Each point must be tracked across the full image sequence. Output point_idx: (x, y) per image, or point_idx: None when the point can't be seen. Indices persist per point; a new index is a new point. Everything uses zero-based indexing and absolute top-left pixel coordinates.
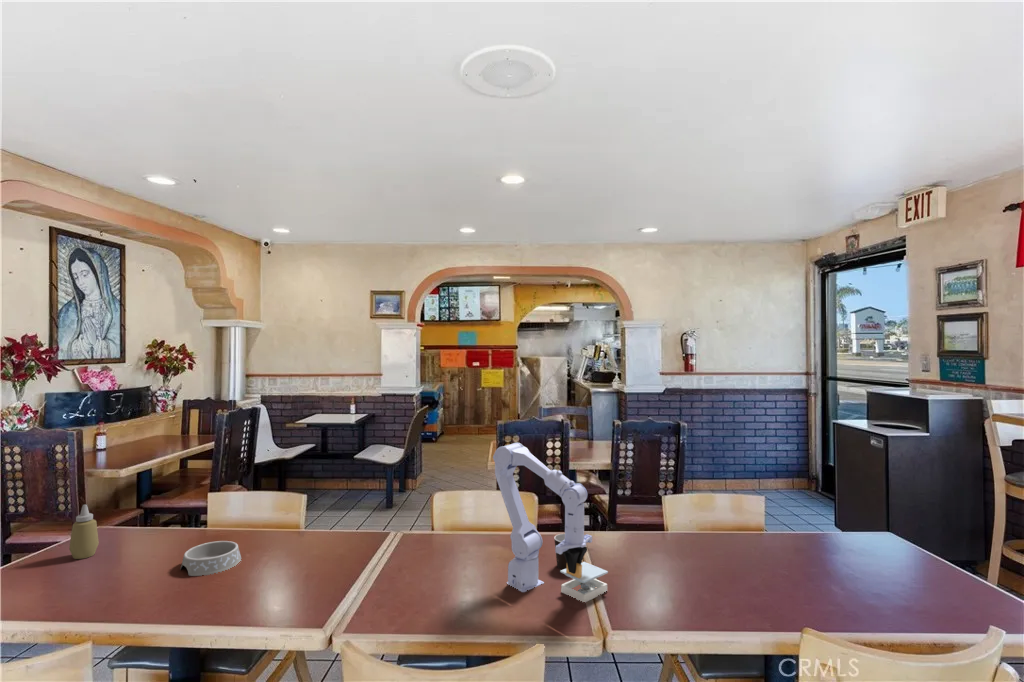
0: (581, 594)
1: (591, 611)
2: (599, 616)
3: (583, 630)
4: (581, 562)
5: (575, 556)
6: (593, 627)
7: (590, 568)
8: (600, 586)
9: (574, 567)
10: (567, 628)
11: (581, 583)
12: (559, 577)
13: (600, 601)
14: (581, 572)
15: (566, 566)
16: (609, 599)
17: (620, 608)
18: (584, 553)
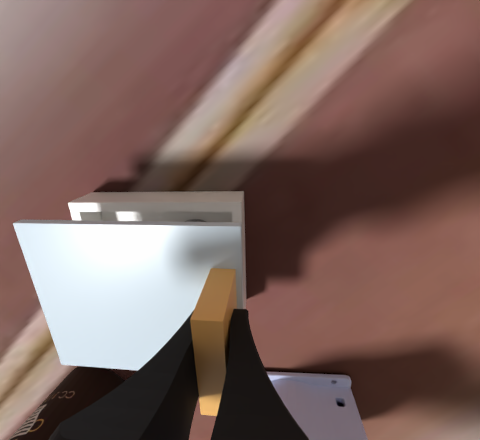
0: (241, 217)
1: (266, 129)
2: (274, 71)
3: (440, 29)
4: (166, 343)
5: (268, 420)
6: (382, 15)
7: (84, 304)
8: (112, 208)
9: (250, 334)
10: (471, 98)
11: None
12: None
13: (169, 162)
14: (207, 285)
15: (108, 392)
16: (124, 147)
17: (139, 54)
18: (110, 403)
